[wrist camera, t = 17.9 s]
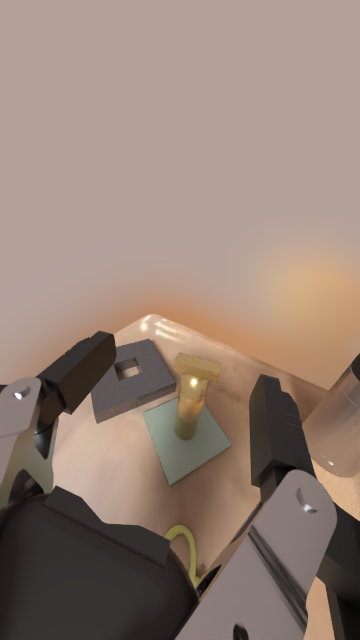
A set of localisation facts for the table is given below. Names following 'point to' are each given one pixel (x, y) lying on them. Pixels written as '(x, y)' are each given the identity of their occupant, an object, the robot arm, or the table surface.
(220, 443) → the mat
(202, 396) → the t key
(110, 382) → the cover plate
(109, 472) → the table surface
